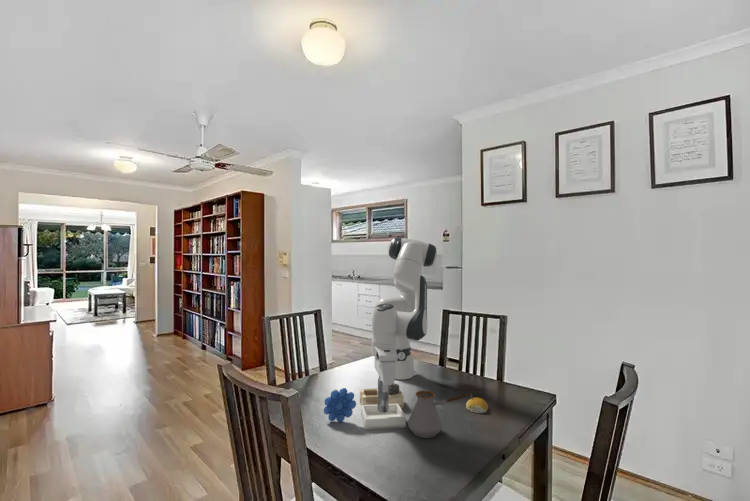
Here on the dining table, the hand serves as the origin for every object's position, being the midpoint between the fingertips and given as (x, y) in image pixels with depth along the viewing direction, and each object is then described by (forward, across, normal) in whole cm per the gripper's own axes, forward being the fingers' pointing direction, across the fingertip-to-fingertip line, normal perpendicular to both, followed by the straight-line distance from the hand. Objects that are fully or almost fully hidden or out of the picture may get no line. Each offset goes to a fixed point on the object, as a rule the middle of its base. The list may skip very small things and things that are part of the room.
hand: (383, 388), depth 133 cm
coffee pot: (+12, +12, +17) cm, 24 cm away
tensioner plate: (+11, -14, +2) cm, 18 cm away
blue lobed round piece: (+12, -2, -15) cm, 19 cm away
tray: (+11, 0, 0) cm, 11 cm away
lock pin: (+8, 0, 0) cm, 8 cm away
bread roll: (+12, -6, +38) cm, 41 cm away
